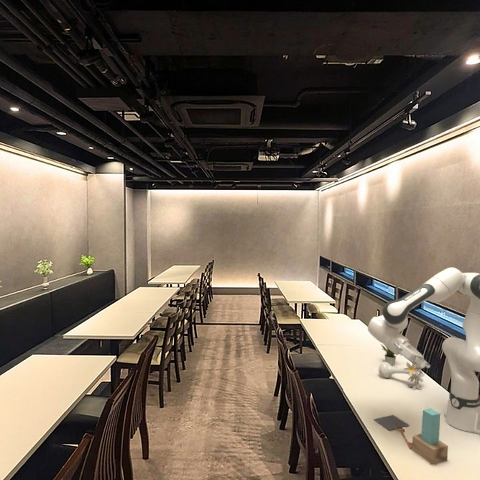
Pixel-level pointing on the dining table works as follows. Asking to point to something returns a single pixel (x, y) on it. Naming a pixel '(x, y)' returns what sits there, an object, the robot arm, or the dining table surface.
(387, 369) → the flower vase
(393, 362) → the house plant
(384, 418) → the mat
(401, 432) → the key
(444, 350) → the robot arm
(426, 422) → the tall teal pillar
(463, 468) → the dining table surface
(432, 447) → the block
